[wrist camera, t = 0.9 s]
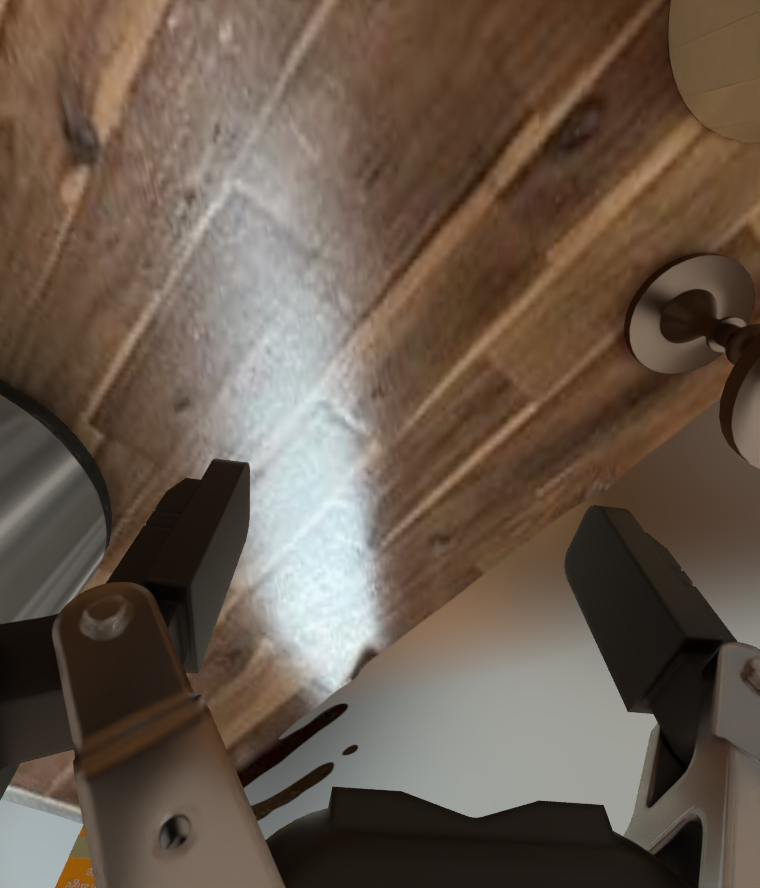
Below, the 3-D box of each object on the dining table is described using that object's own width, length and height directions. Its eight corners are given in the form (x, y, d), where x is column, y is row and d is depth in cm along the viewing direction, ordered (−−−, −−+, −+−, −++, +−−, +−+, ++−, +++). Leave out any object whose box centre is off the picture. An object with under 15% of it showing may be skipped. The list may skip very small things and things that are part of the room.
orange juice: (147, 796, 76) (79, 978, 59) (144, 818, 80) (80, 995, 63) (98, 789, 75) (14, 973, 58) (97, 812, 79) (18, 990, 62)
